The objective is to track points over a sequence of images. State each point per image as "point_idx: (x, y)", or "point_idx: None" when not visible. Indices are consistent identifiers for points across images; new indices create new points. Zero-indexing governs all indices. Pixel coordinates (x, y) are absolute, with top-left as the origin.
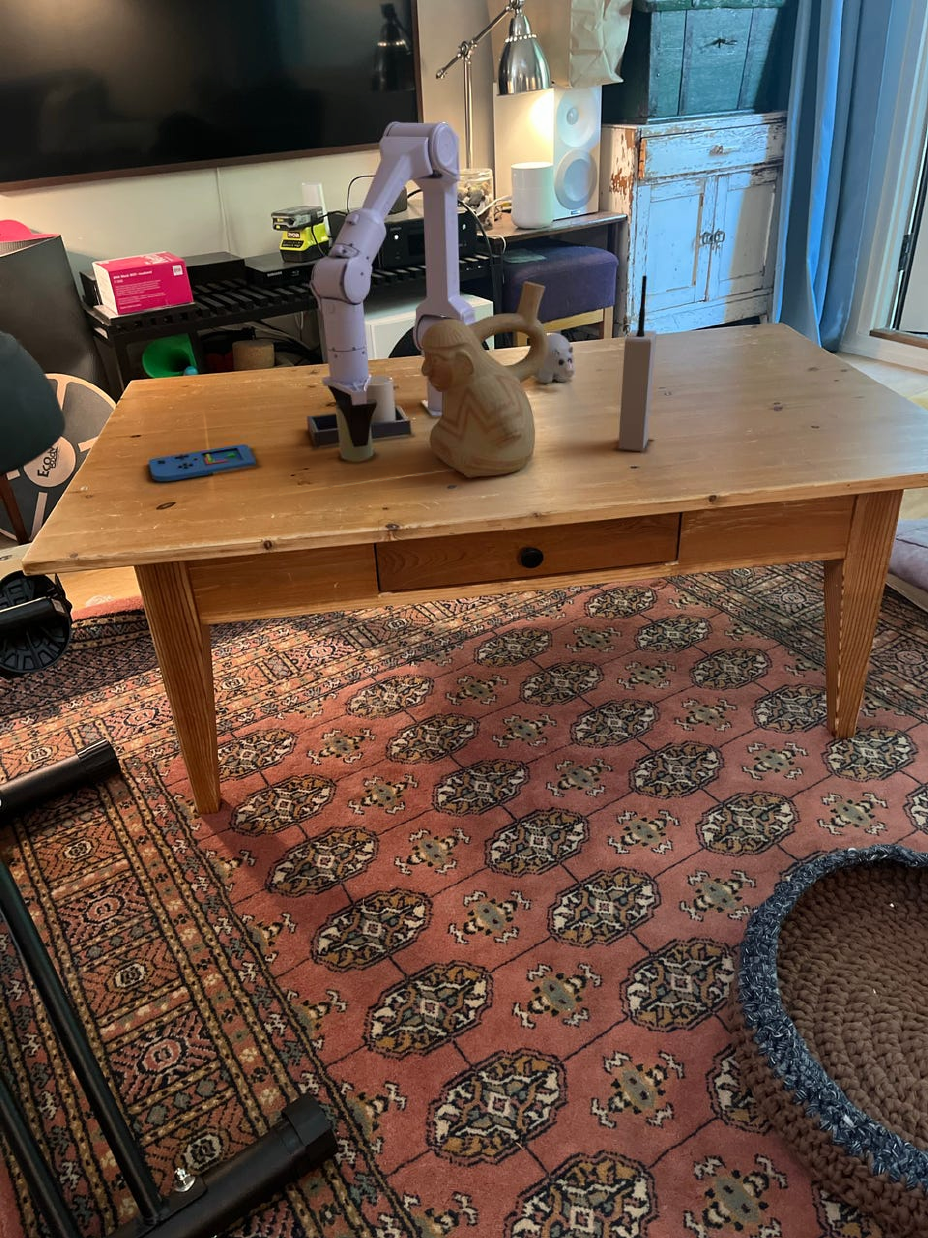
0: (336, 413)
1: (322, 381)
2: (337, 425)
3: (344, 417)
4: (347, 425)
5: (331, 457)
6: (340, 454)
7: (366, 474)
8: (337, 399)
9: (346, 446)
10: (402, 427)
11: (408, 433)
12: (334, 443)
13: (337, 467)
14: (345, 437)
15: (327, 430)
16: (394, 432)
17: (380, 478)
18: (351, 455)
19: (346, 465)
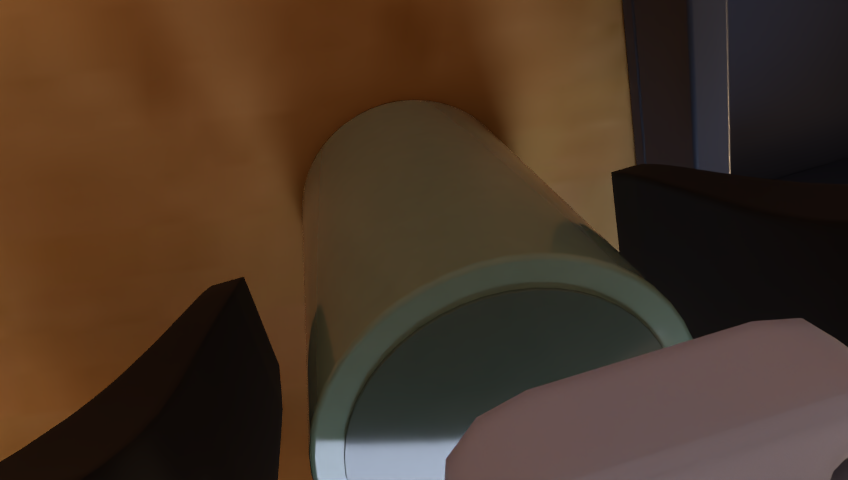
0: (438, 245)
1: (718, 378)
2: (427, 184)
3: (319, 340)
4: (154, 368)
5: (428, 27)
6: (403, 106)
7: (104, 294)
8: (801, 243)
9: (317, 199)
10: None
11: None
12: (635, 37)
13: (230, 91)
14: (323, 227)
15: (701, 2)
16: None
17: (42, 379)
18: (304, 206)
19: (266, 151)
